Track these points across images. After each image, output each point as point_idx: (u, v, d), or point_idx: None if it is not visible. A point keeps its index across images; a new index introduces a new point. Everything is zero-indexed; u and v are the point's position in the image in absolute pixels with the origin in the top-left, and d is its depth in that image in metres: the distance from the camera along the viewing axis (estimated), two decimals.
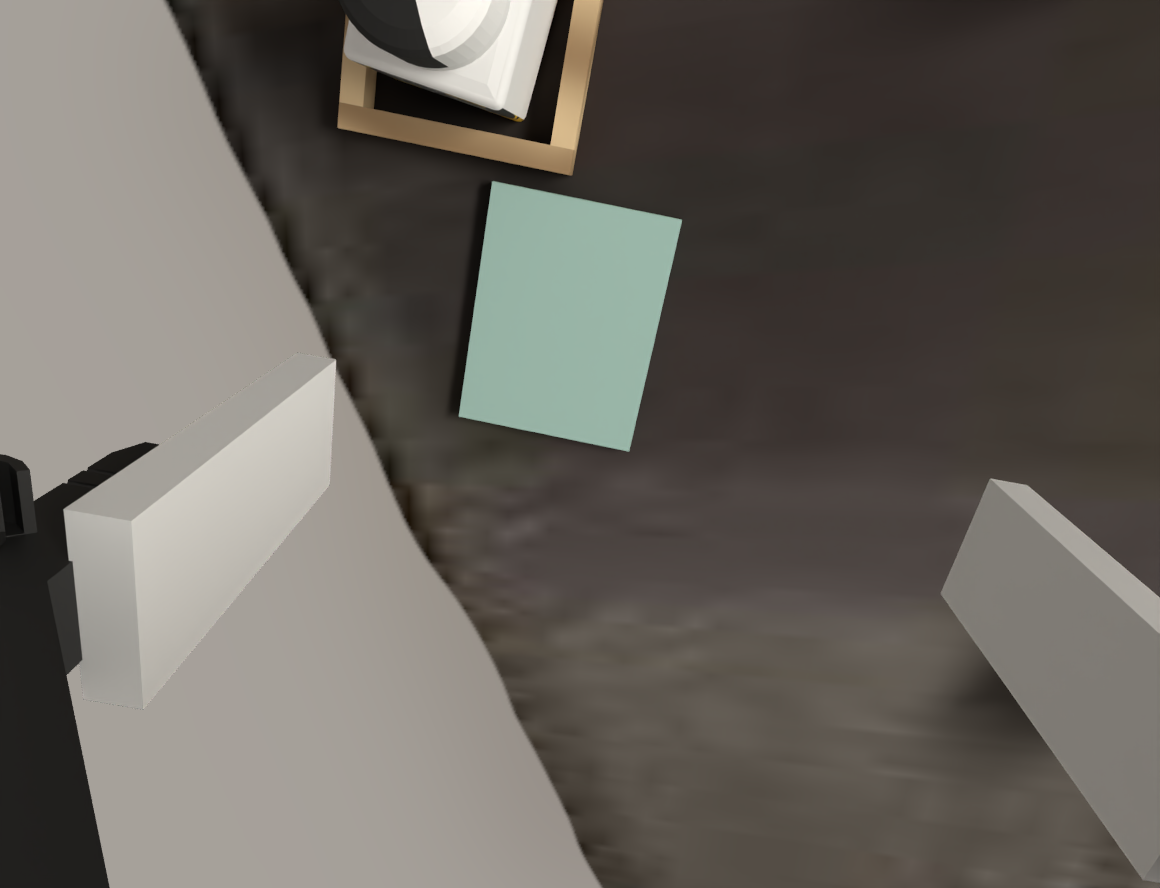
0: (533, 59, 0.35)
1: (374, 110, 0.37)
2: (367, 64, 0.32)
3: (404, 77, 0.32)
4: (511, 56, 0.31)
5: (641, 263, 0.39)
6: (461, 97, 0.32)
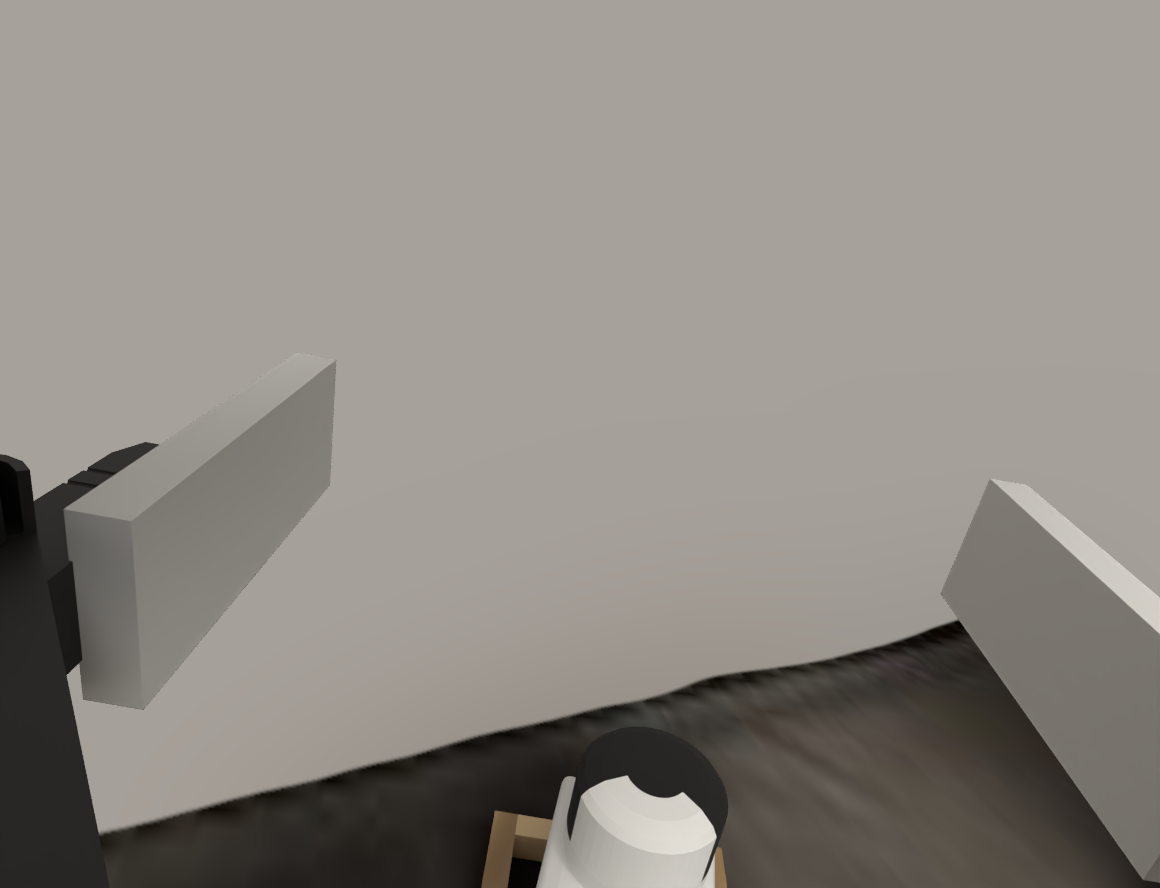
0: None
1: (512, 844, 0.37)
2: (560, 793, 0.34)
3: (552, 823, 0.32)
4: None
5: None
6: (540, 876, 0.30)
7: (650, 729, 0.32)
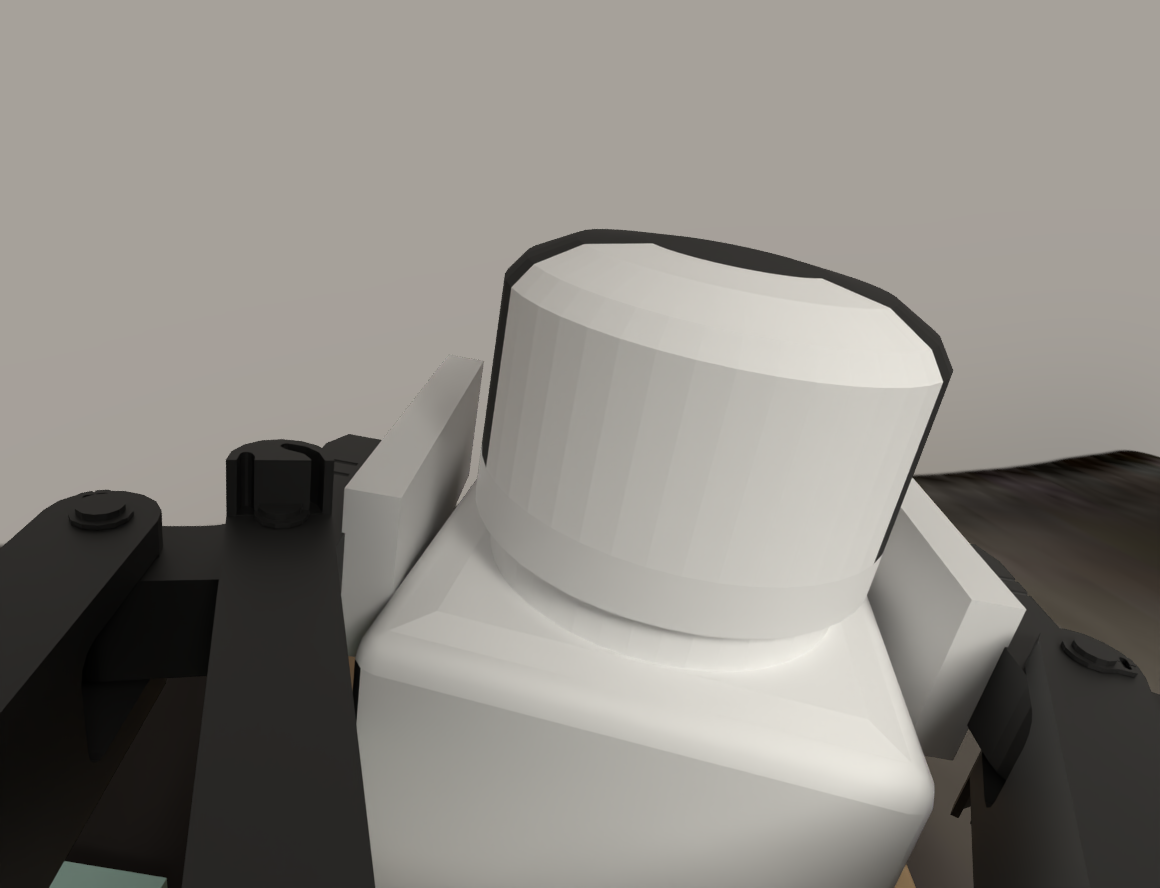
0: None
1: None
2: None
3: (460, 503, 0.13)
4: (525, 682, 0.09)
5: None
6: None
7: None
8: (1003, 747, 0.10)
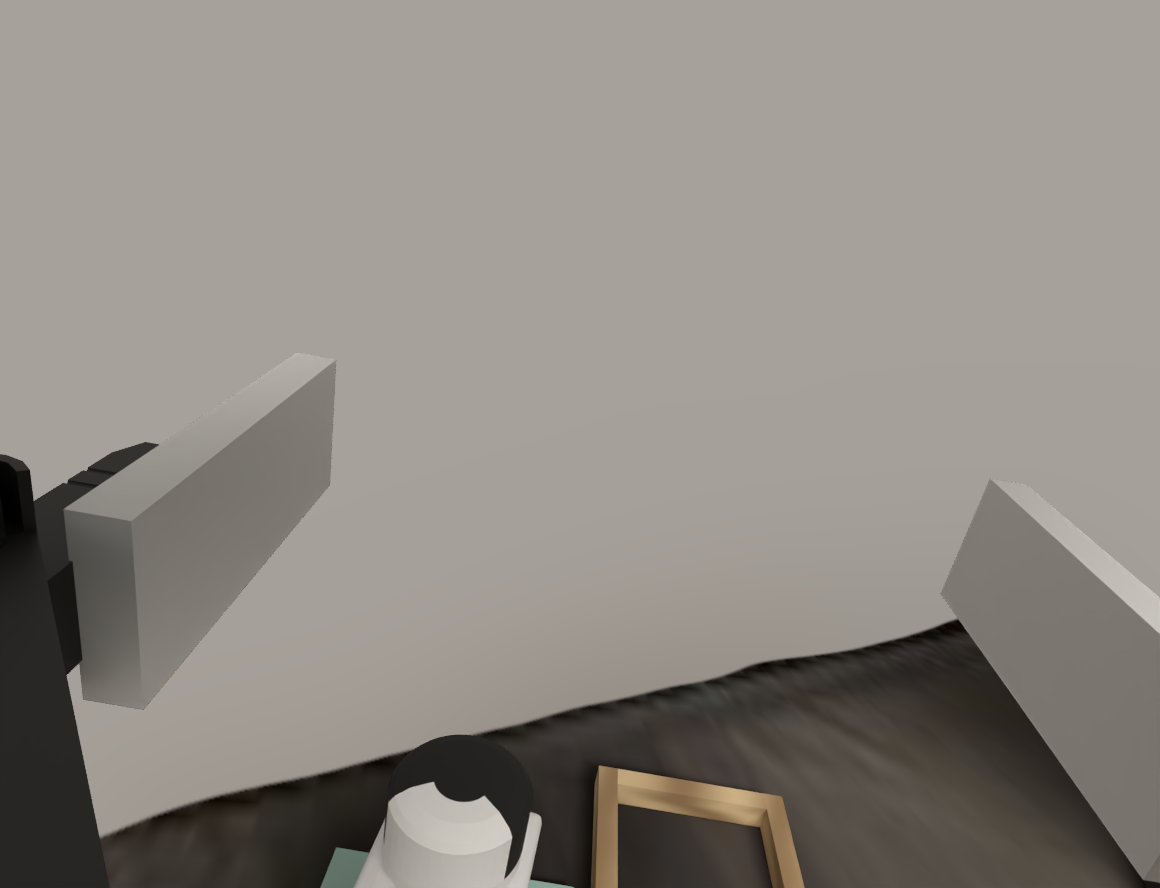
0: None
1: (616, 791, 0.46)
2: None
3: (381, 827, 0.34)
4: None
5: None
6: (358, 878, 0.32)
7: (470, 737, 0.34)
8: None
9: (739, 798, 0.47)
